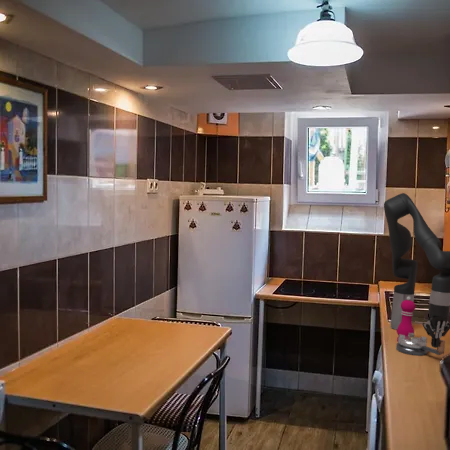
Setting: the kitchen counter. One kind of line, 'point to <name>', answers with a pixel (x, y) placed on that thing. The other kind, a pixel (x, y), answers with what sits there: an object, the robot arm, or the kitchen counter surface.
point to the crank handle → (419, 343)
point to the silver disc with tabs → (410, 351)
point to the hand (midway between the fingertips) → (434, 347)
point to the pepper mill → (406, 317)
